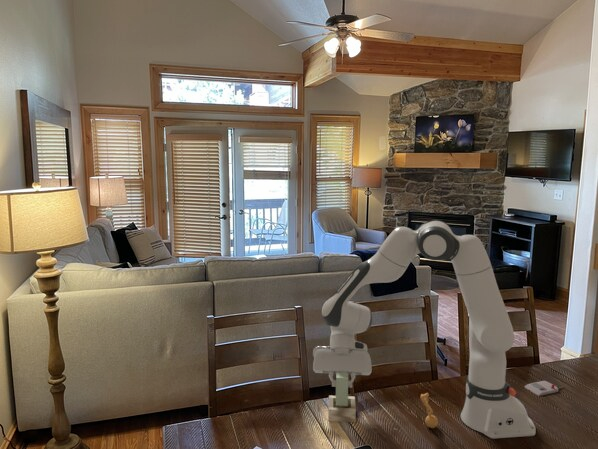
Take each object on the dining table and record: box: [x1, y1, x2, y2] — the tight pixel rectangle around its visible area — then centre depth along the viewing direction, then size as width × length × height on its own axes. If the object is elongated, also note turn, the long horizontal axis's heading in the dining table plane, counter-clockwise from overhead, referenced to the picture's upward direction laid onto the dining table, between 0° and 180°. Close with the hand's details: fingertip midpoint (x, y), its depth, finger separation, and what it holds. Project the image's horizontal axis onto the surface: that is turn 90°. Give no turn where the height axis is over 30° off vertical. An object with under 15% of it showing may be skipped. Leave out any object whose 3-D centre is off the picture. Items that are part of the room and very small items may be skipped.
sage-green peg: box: [335, 372, 349, 406], centre depth 149 cm, size 4×4×10 cm
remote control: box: [524, 380, 564, 397], centre depth 167 cm, size 7×16×3 cm, turn 109°
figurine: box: [419, 392, 439, 429], centre depth 142 cm, size 8×6×12 cm
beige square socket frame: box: [327, 394, 357, 423], centre depth 150 cm, size 9×9×4 cm
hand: (342, 386), depth 149 cm, fingers closed on sage-green peg, 4 cm apart
